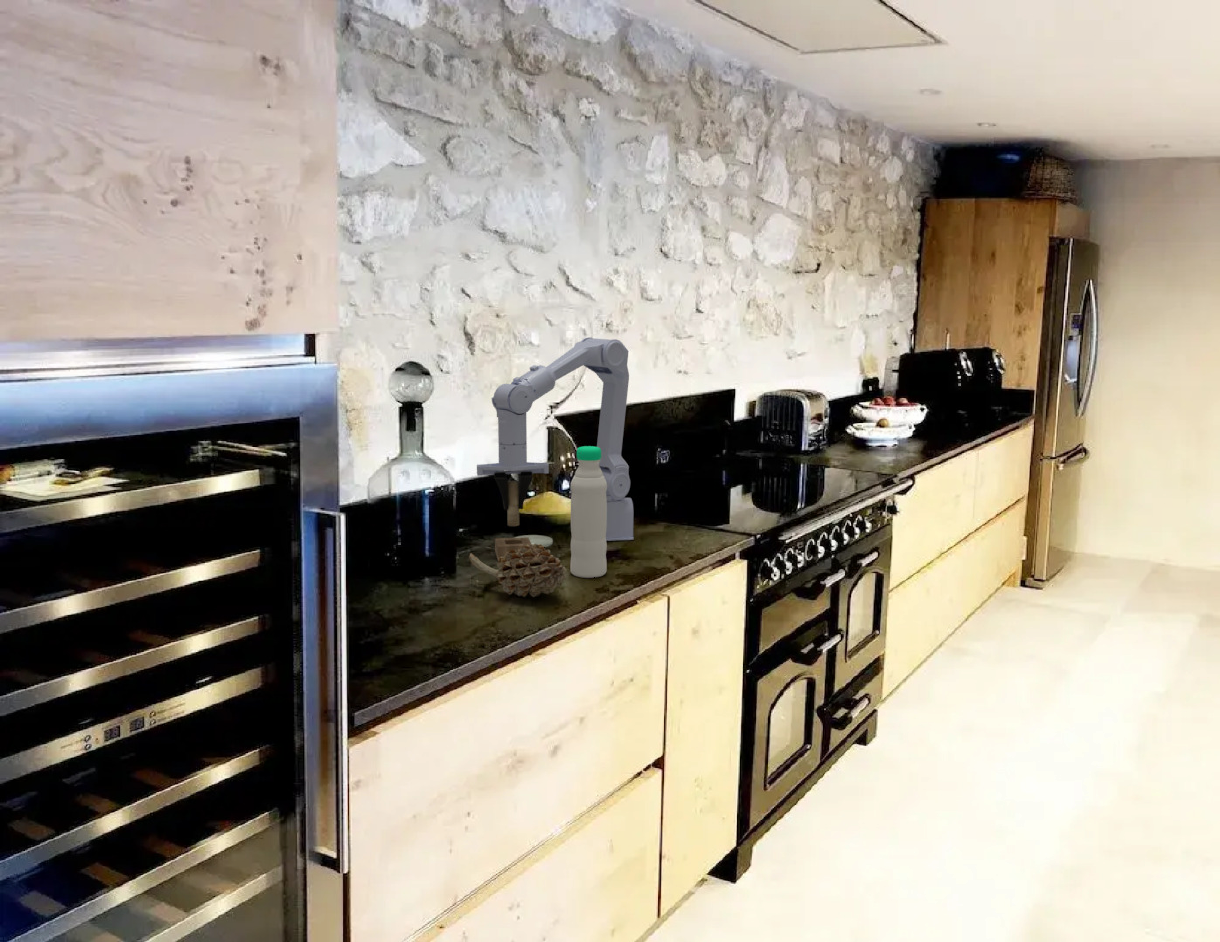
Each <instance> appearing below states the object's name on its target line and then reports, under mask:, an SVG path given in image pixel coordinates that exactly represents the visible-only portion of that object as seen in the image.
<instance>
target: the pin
mask: <svg viewBox="0 0 1220 942" xmlns="http://www.w3.org/2000/svg"><path fill="white" fill-rule="evenodd" d="M507 498H508V510H506V511H507V512H506V513H507V518H506V519H507V527H508V526H509V527H517V526H518V527H519V526H520V509H519V482H518V480H508V483H507Z"/></svg>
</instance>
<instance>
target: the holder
mask: <svg viewBox="0 0 1220 942" xmlns="http://www.w3.org/2000/svg"><path fill="white" fill-rule="evenodd" d="M527 544H528V545H529V546H530V547H531V546H532V544H531V542H530V540H529V538H528V537H525V538H514V537H505V538H501V537H500V538H499V537H498V538H495V539H494V550H495V551H494V553H495V557H496V559H497V561H498V562H499V558H500V557H503V556H505V555H506V553H507V552H509V551H510V550H511V549H513V550H515V551H516V550H517V549H520V548H521V547H522V546H523V547H524V546H525V545H527Z"/></svg>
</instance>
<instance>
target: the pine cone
mask: <svg viewBox="0 0 1220 942" xmlns="http://www.w3.org/2000/svg"><path fill="white" fill-rule="evenodd" d="M468 557H469V561H470V563H471V564H472V565H473V566H474V567H476V568H477V569H479V570H481V571H483V572H484V573H486V574H488V575H491V576H493V577H496V578H497V579H498V583H499V584H501V585H502V589H503V592H504V593H507V595H512V594H514V595H517V596H518V597H521V596H522V597H524V598H525V597H526V596H527V595H528V593H529V595H530V596H531V597H533V598H535V597H539V596H540V594H541V593H543V594H545V595H546V594H547V595H549V594H550V593H553V592H554V590H555V588H558V587H561V586H562V584H563V583H564V581H565V580H566V579H567V577H566V575H565V571H566V567H565V566H563V565H562V564H561V559H560V558H559V557H556V556H554V555H553V554H551V550H550V549H549V548H548V549H547V548H546V547H545V548H544V547H543V545H541V544H540V545H537V544H533V545H532V546H531V547H530V546H529V545H528V544H527V545H525V546H524V547H523V546H522V547H521V548H520V549H517V550H516V551H515V550H513V549H511V550H510V551H509V552H507V553H506V555H505V556H503V557H500V558H499V561H498V562H497V563H496V566H497V569H495V568H493V567H490V565H489V566H488V565H487V564H485V563H484V562H482V561H481V560H480V559H479V558H478V556H475V555H474V554H473V553H470V554H469V555H468Z"/></svg>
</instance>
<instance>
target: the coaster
mask: <svg viewBox="0 0 1220 942" xmlns="http://www.w3.org/2000/svg"><path fill="white" fill-rule="evenodd" d="M525 537H528V538H529V540H530V542H531V544H532V545H533V544H537V545H540V544H541V545H543V547H545V548H548V547H551V546H552V545H553V542H554V541H553V538H552V537H550V536H547V535H542V534H541V535H540V534H539V535H538V534H528V535H527V534H526V535H518V536H515V537H513V538H525Z"/></svg>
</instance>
